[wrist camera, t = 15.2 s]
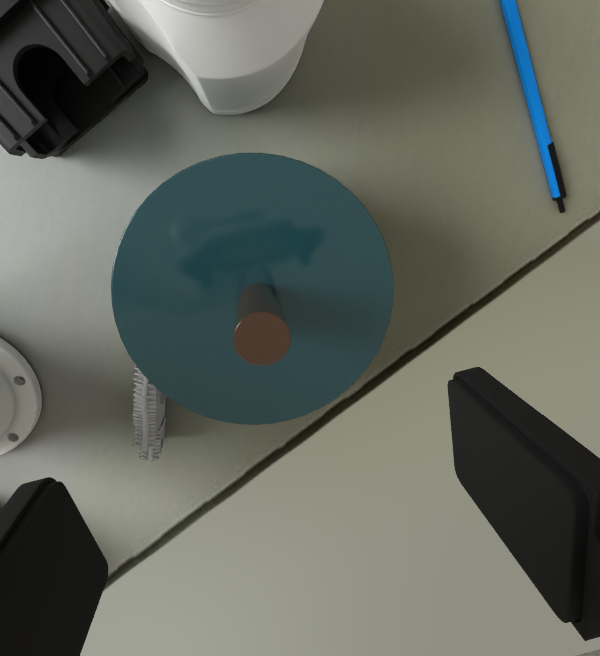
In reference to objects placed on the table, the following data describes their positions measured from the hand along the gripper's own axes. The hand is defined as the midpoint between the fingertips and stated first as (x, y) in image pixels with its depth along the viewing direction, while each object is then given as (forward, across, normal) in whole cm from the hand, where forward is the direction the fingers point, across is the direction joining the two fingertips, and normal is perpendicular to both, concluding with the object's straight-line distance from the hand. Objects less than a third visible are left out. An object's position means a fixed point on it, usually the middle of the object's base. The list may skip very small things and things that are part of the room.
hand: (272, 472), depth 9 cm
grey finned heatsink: (+24, +11, +8) cm, 28 cm away
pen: (+25, -24, -8) cm, 35 cm away
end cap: (+24, +9, -16) cm, 31 cm away
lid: (+15, 0, 0) cm, 15 cm away
